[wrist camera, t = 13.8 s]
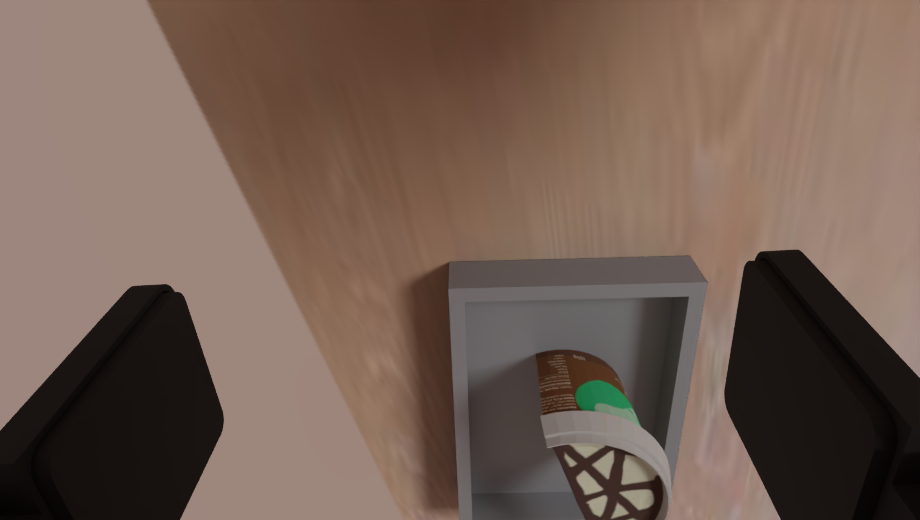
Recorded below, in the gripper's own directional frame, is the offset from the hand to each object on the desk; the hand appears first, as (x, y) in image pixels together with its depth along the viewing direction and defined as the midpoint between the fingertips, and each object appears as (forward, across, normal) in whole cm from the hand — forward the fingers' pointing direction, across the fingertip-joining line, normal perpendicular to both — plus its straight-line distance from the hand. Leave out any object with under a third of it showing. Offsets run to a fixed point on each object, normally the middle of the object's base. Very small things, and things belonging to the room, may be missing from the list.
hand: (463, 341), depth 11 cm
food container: (+28, -7, +25) cm, 39 cm away
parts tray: (+29, -5, +26) cm, 39 cm away
